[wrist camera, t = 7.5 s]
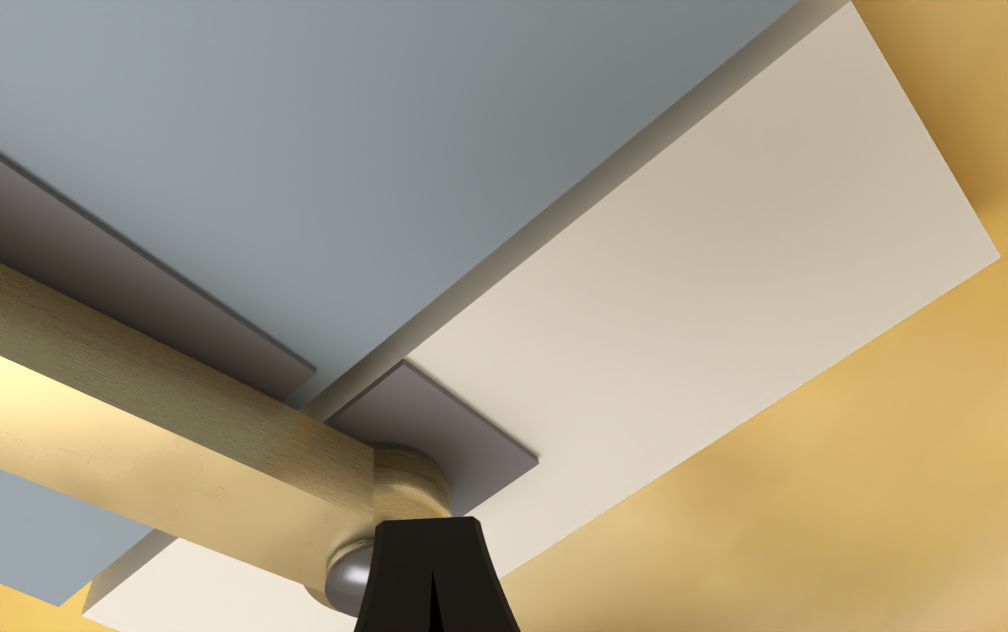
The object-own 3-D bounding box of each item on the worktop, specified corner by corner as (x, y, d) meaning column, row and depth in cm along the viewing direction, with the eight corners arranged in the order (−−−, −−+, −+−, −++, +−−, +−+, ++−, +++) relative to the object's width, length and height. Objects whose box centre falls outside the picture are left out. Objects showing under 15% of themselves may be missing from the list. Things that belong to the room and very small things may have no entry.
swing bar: (478, 484, 19) (489, 573, 17) (393, 558, 20) (394, 649, 18) (-237, 121, 12) (-350, 200, 10) (-299, 265, 14) (-410, 358, 12)
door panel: (797, -50, 15) (889, 5, 12) (76, 556, 22) (34, 675, 19) (239, -972, 8) (177, -1273, 6) (-511, 299, 16) (-692, 420, 13)
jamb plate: (961, 221, 19) (1007, 262, 17) (307, 658, 26) (302, 711, 24) (813, -24, 15) (856, 3, 14) (96, 565, 22) (78, 622, 21)
